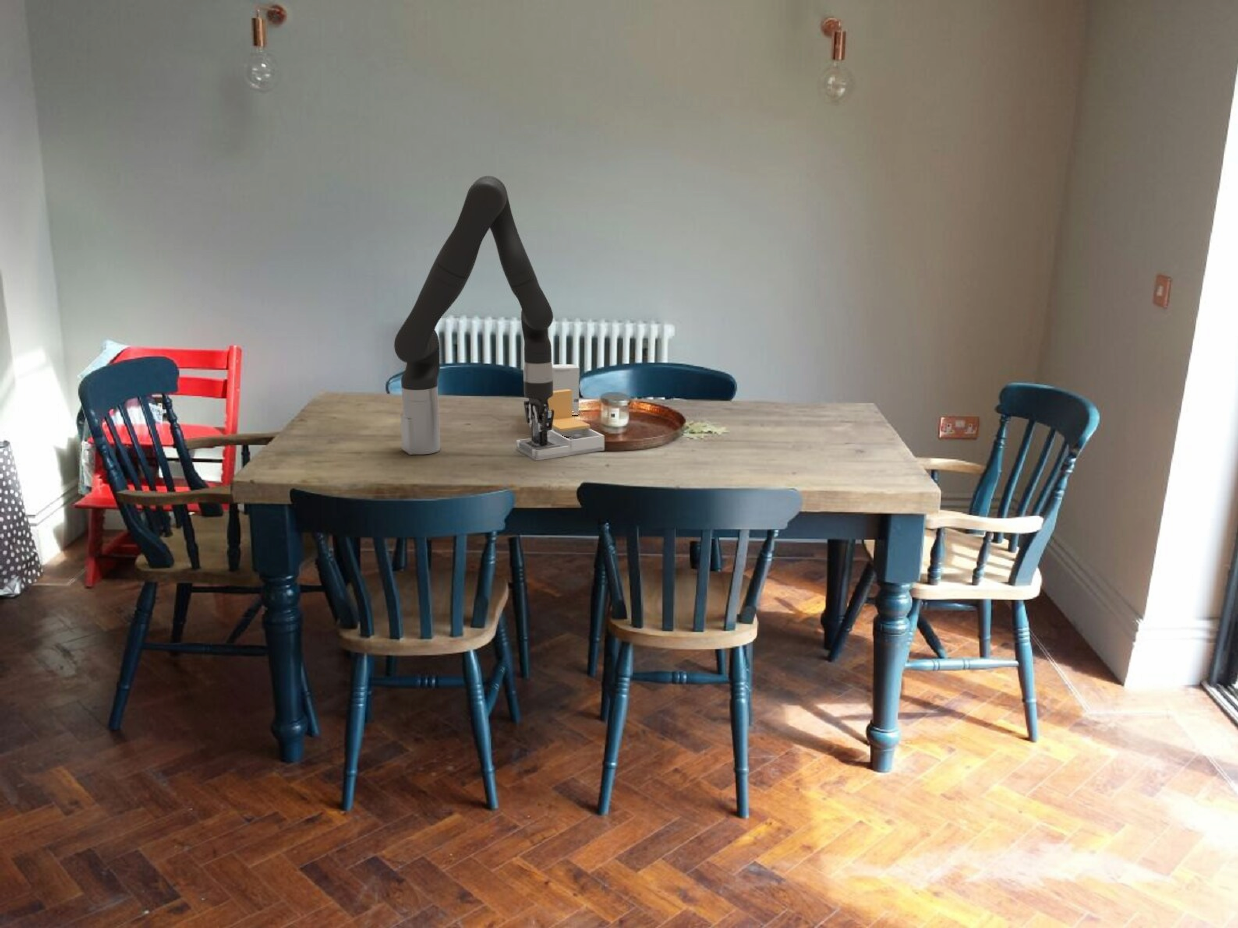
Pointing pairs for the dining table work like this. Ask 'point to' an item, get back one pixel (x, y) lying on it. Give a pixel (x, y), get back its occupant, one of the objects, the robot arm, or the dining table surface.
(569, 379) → the skincare box
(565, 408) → the orange l-shaped block
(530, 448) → the box
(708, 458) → the dining table surface
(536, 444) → the pin
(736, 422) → the dining table surface
